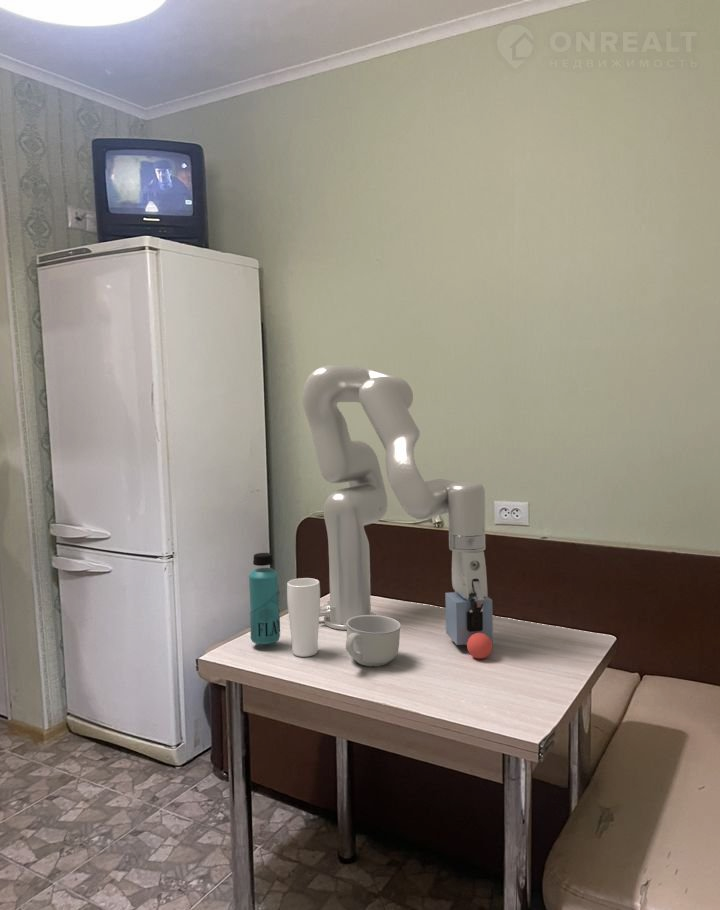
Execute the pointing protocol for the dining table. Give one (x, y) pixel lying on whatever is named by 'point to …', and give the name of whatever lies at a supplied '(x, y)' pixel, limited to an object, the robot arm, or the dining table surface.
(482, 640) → the ball
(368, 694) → the dining table surface
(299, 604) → the drinking glass
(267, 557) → the beverage bottle
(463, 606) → the pale blue cube
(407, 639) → the dining table surface
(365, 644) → the teacup
